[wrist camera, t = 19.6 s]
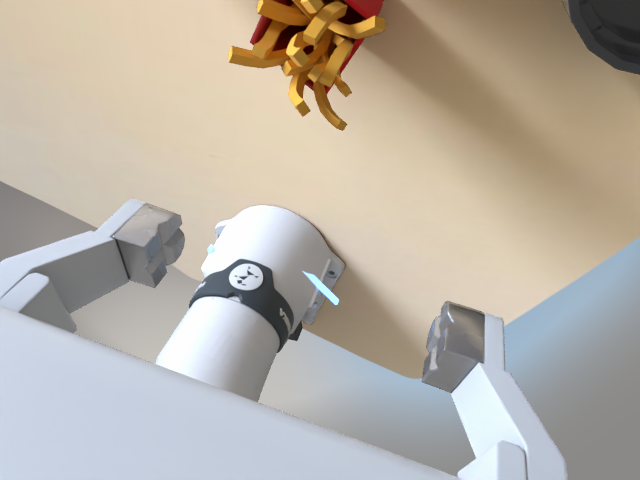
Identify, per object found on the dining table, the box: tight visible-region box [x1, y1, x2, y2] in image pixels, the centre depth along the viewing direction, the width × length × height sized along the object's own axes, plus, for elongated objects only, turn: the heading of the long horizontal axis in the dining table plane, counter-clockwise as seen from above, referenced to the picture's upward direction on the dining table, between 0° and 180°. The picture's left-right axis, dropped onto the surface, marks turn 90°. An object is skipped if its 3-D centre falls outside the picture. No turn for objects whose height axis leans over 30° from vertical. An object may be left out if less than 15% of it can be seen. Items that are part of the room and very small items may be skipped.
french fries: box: [228, 0, 385, 131], centre depth 27 cm, size 9×8×15 cm
